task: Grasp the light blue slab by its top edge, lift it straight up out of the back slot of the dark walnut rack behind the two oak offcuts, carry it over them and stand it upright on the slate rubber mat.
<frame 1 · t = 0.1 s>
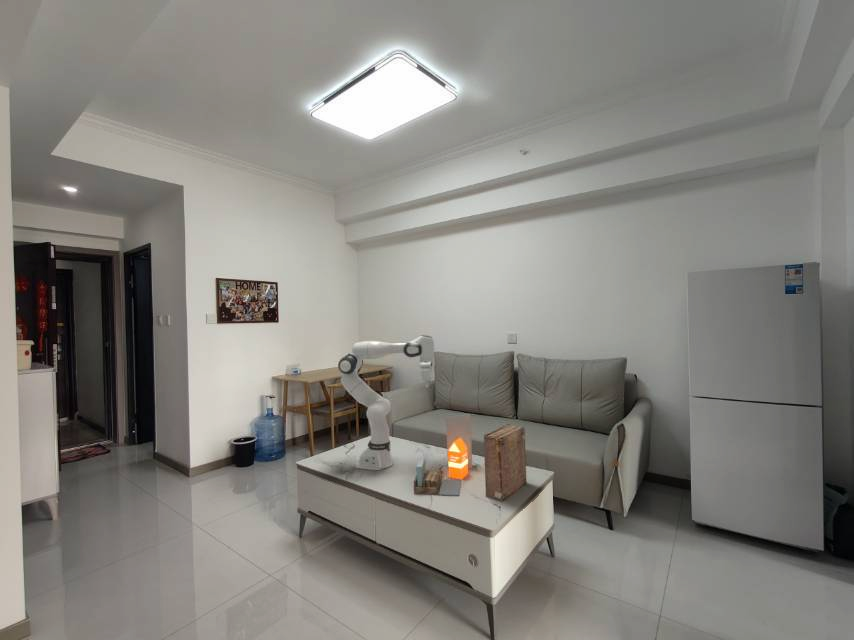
hand: (428, 385, 233), 48 cm above the table, fingers open, 8 cm apart
rack: (427, 487, 204), on the table
light blue slab: (422, 487, 205), resting in rack
book: (506, 489, 198), on the table
mat: (450, 487, 202), on the table
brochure: (460, 466, 231), on the table
offcut b: (434, 487, 204), resting in rack
orange juice: (458, 475, 218), on the table
offcut a: (429, 487, 204), resting in rack
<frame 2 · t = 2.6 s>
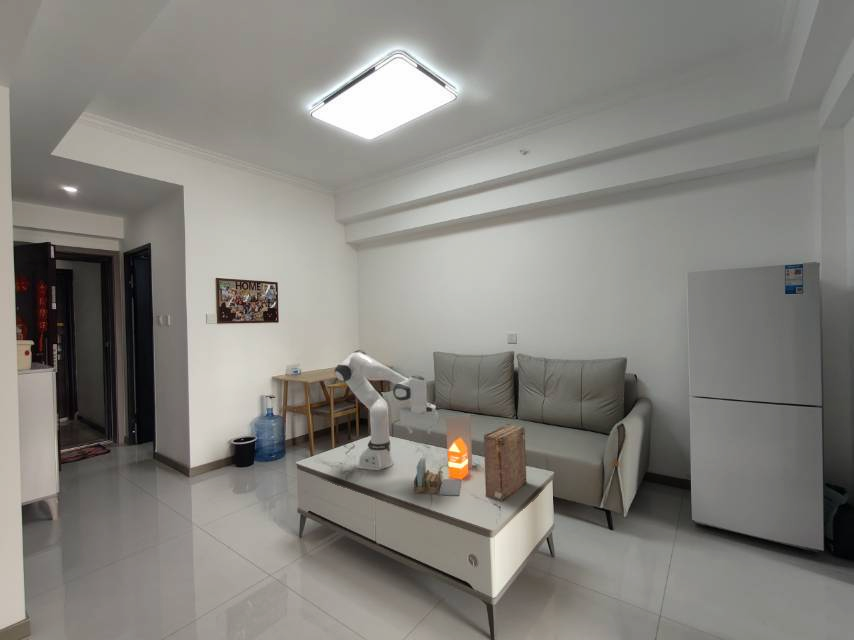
hand: (419, 433, 204), 28 cm above the table, fingers open, 8 cm apart
nothing on the table moved.
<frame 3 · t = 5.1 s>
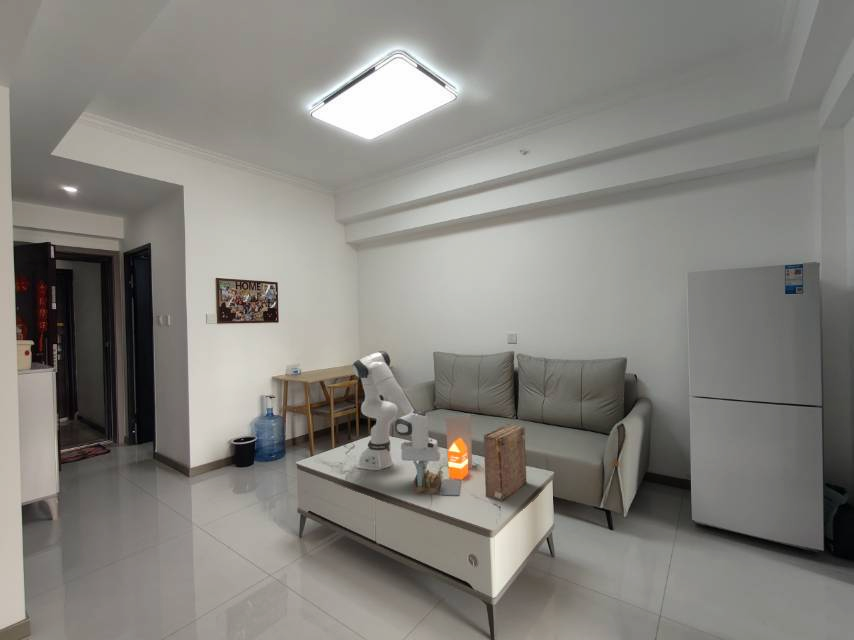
hand: (421, 468, 205), 10 cm above the table, fingers closed on light blue slab, 3 cm apart
light blue slab: (422, 487, 205), resting in rack, touching gripper
everything else where it was.
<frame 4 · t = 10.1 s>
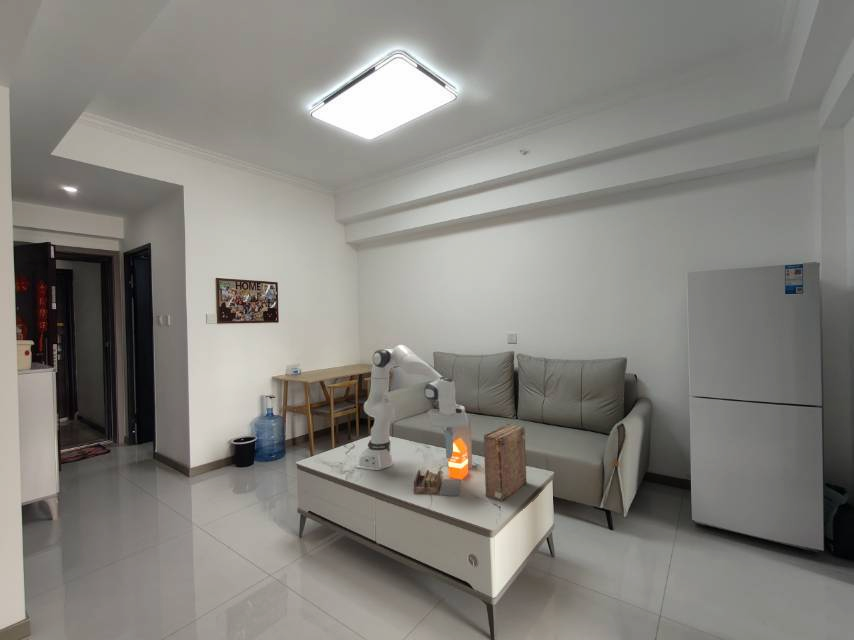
hand: (449, 435, 202), 27 cm above the table, fingers closed on light blue slab, 2 cm apart
light blue slab: (450, 453, 203), point 17 cm above the table, touching gripper
everything else where it was.
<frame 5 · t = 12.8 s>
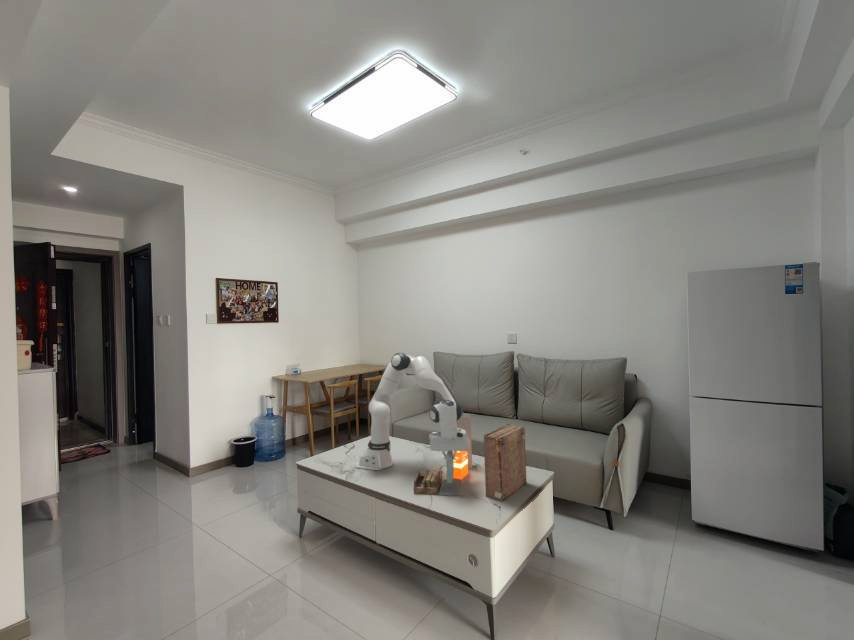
hand: (449, 458, 202), 15 cm above the table, fingers closed on light blue slab, 2 cm apart
light blue slab: (450, 477, 203), point 5 cm above the table, touching gripper
everything else where it was.
when the fingers open (12 cm above the table, at t = 14.8 s): light blue slab drops 1 cm, resting on mat.
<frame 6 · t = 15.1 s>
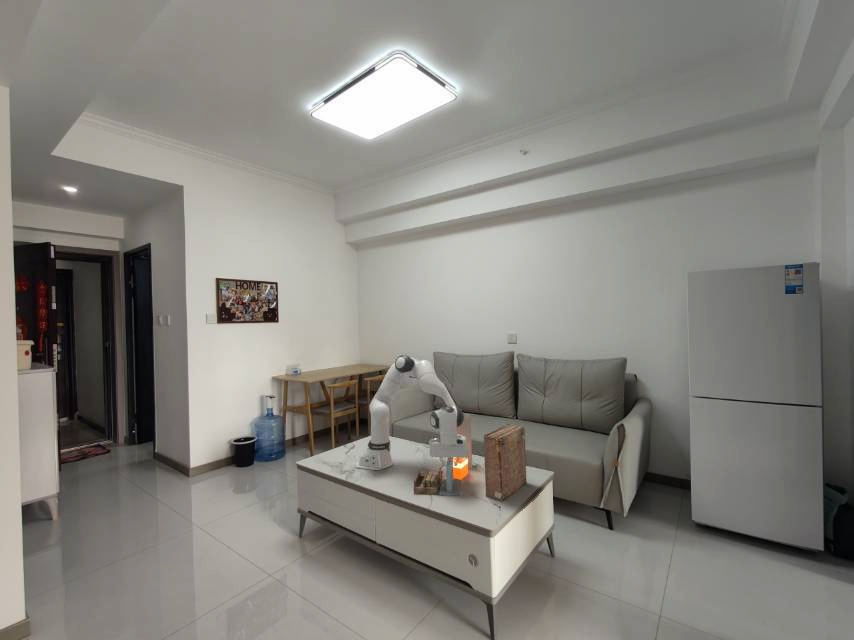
hand: (449, 465, 202), 12 cm above the table, fingers open, 5 cm apart
light blue slab: (450, 486, 203), point 1 cm above the table, touching mat
everything else where it was.
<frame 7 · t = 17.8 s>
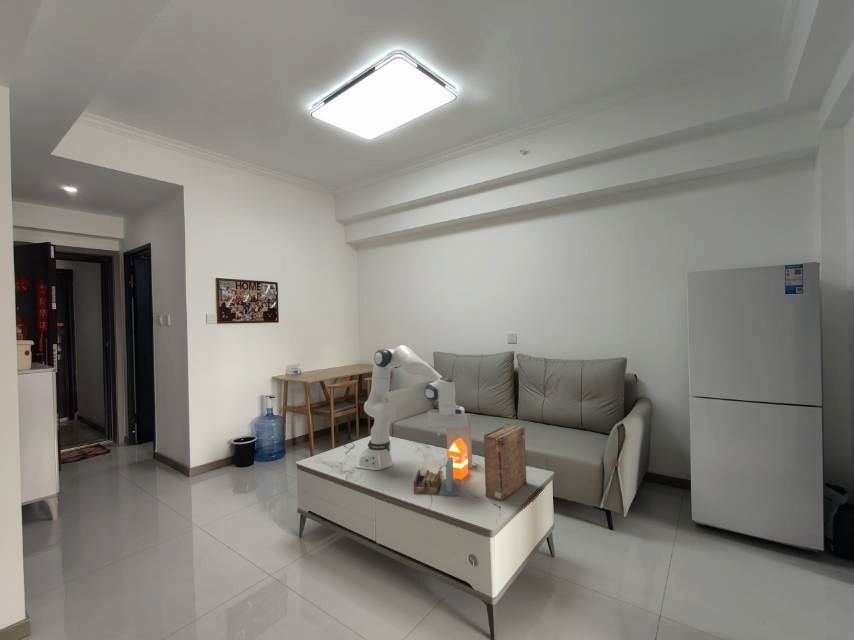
hand: (448, 436, 202), 27 cm above the table, fingers open, 8 cm apart
nothing on the table moved.
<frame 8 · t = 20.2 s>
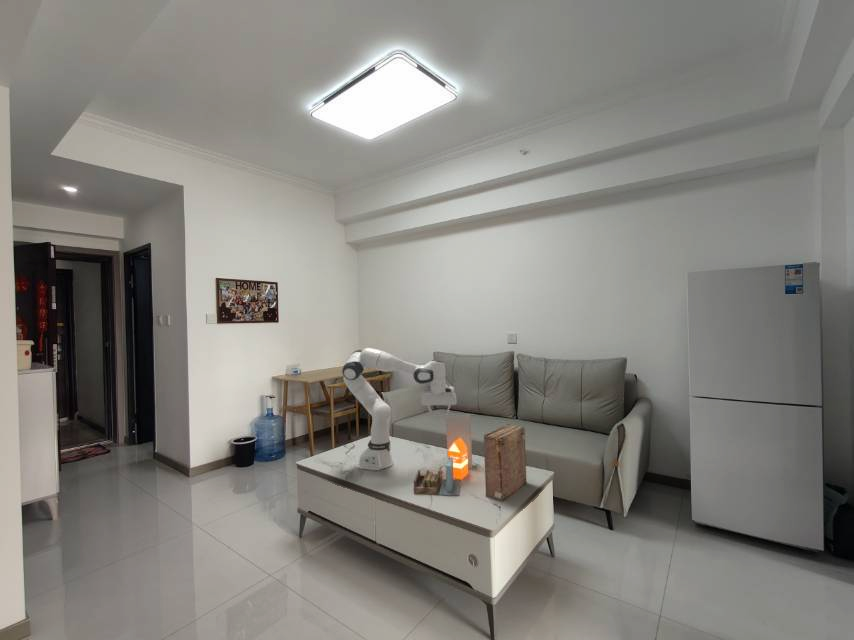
hand: (439, 412, 222), 34 cm above the table, fingers open, 8 cm apart
nothing on the table moved.
at the end: light blue slab inside the target area (0.2 cm from its centre), point 0.6 cm above the table; light blue slab tilted 0°; the gripper is holding nothing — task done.
